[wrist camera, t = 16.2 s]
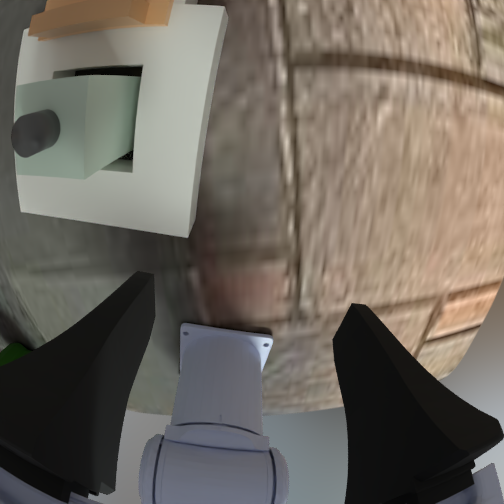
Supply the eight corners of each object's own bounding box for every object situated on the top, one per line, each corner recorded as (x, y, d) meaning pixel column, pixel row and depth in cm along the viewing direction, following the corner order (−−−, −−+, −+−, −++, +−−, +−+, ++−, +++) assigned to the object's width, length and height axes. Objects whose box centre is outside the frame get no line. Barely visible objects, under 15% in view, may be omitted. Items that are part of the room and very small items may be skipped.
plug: (137, 147, 16) (66, 192, 9) (79, 143, 15) (-2, 185, 9) (145, 77, 14) (68, 75, 7) (83, 79, 13) (-5, 89, 6)
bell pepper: (62, 378, 31) (40, 434, 23) (25, 366, 31) (2, 415, 23) (36, 340, 27) (4, 401, 18) (0, 329, 27) (-31, 381, 18)
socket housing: (195, 219, 19) (187, 238, 16) (39, 197, 17) (21, 211, 15) (248, -56, 9) (248, -74, 7) (66, -36, 7) (47, -44, 5)
